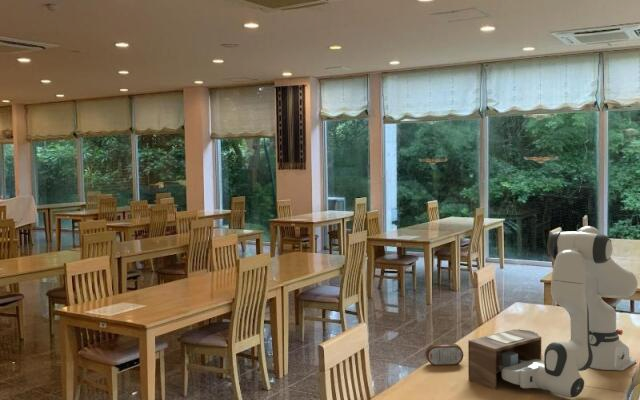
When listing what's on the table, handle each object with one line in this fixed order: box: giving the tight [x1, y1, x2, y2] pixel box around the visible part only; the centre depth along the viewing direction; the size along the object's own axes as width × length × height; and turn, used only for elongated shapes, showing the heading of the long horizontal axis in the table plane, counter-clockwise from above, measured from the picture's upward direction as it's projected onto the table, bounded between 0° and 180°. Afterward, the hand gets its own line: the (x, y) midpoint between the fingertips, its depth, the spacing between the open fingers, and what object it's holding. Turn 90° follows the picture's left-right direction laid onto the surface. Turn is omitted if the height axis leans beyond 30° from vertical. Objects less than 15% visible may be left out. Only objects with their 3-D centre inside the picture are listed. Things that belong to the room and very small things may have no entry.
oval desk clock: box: [425, 343, 464, 366], centre depth 256 cm, size 15×3×8 cm, turn 92°
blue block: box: [501, 351, 518, 380], centre depth 238 cm, size 4×4×10 cm
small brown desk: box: [467, 329, 542, 391], centre depth 240 cm, size 26×13×15 cm, turn 123°
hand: (508, 364), depth 238 cm, fingers open, 8 cm apart
